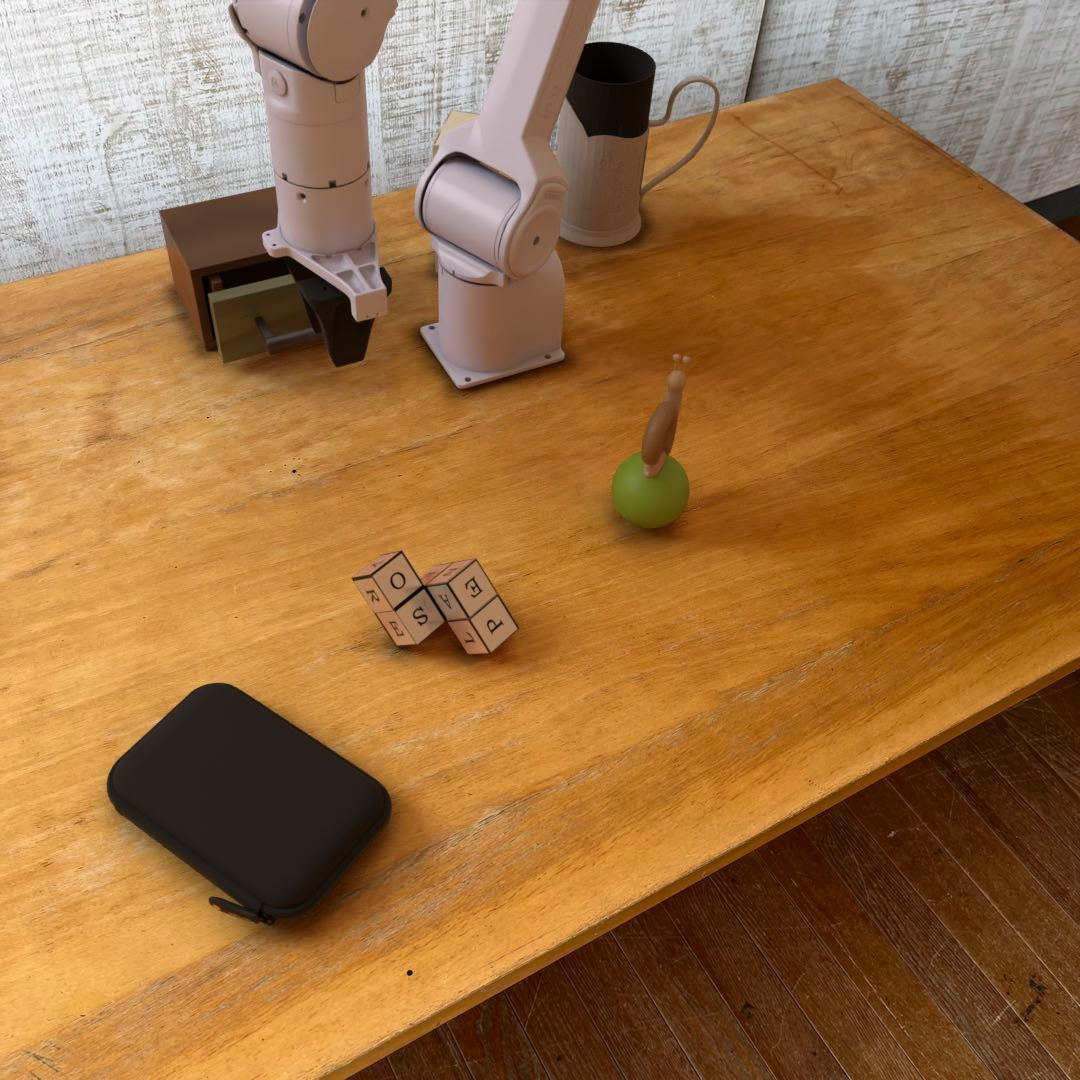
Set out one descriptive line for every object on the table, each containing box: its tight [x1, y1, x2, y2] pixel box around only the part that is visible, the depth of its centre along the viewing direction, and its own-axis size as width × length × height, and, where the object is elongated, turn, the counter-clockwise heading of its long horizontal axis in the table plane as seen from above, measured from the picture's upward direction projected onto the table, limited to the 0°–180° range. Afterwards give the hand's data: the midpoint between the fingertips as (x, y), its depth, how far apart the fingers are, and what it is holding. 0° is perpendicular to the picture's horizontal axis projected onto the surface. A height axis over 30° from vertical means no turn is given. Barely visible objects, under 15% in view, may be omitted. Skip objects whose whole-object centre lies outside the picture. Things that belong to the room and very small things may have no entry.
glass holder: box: [555, 41, 721, 248], centre depth 103 cm, size 9×14×15 cm, turn 96°
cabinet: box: [158, 185, 281, 351], centre depth 94 cm, size 9×13×8 cm
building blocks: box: [351, 550, 520, 656], centre depth 73 cm, size 5×5×8 cm
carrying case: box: [106, 682, 393, 927], centre depth 65 cm, size 11×3×15 cm
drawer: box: [202, 258, 325, 364], centre depth 91 cm, size 12×11×6 cm
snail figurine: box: [610, 353, 692, 529], centre depth 79 cm, size 5×6×12 cm
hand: (337, 344), depth 79 cm, fingers open, 3 cm apart
